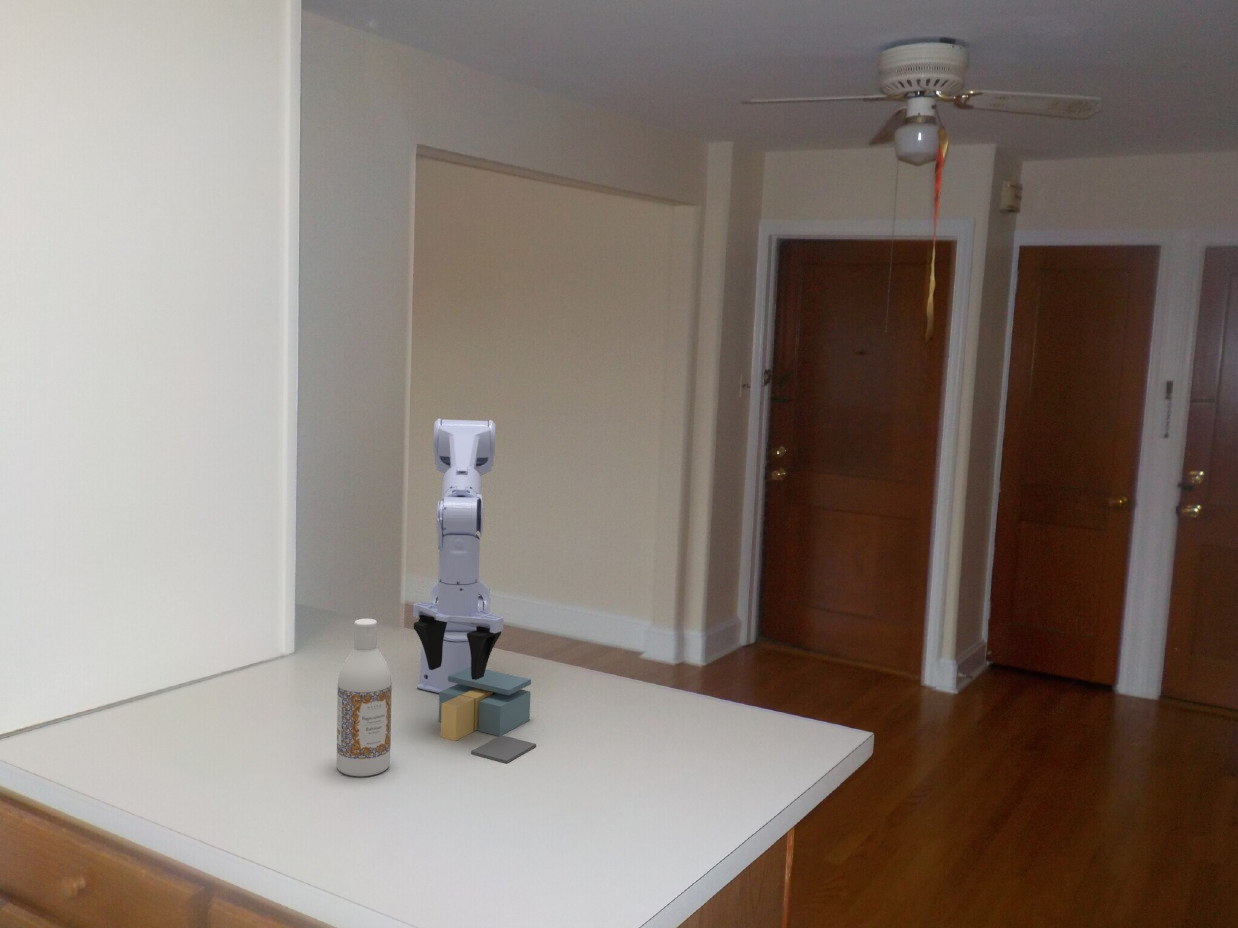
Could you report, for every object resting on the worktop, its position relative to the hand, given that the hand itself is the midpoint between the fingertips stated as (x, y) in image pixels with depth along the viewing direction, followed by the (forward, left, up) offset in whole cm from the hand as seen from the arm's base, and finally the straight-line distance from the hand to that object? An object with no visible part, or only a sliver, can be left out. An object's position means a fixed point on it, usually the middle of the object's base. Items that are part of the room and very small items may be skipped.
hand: (456, 672), depth 157 cm
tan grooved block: (0, +3, -9) cm, 10 cm away
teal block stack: (0, +8, -9) cm, 12 cm away
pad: (+9, 0, -9) cm, 13 cm away
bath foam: (-3, -16, -10) cm, 19 cm away
